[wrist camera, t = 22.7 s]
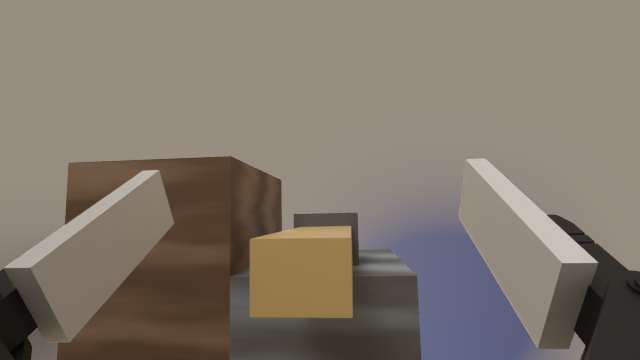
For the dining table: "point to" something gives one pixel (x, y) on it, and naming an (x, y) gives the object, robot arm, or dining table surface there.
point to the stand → (228, 278)
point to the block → (305, 268)
